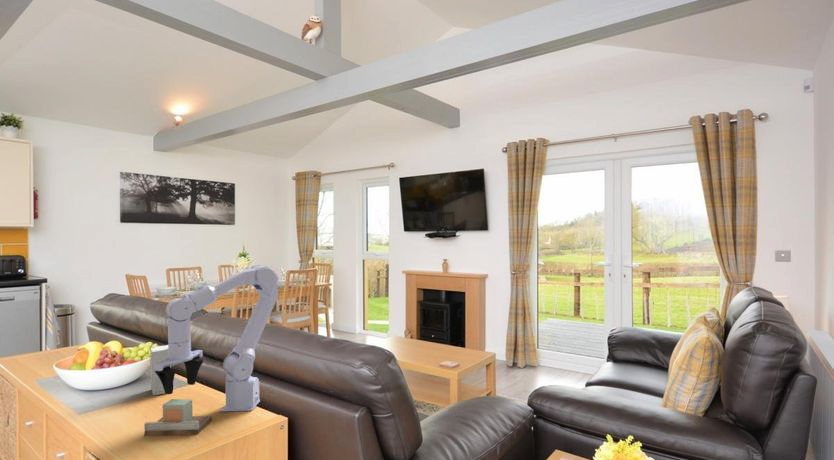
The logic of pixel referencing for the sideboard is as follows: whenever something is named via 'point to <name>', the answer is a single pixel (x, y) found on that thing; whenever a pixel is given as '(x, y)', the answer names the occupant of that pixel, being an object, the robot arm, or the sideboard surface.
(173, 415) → the product carton
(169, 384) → the robot arm
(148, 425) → the rail
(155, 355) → the skincare box
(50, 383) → the sideboard surface
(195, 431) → the shelf board
